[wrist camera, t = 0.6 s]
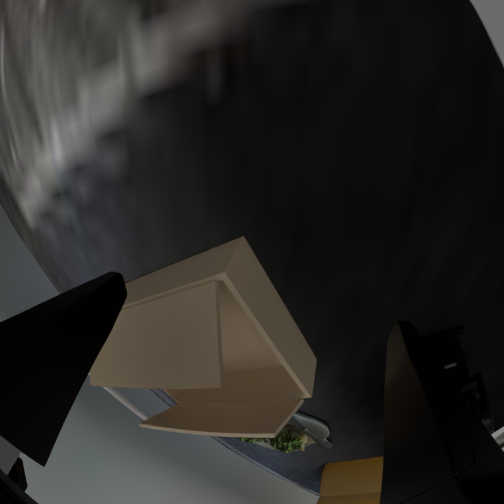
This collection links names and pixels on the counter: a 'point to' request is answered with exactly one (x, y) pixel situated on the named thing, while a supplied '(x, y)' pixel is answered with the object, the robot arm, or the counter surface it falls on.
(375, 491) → the bread
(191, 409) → the far flap
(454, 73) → the counter surface
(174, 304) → the near flap
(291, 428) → the salad plate
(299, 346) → the carton
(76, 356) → the robot arm
